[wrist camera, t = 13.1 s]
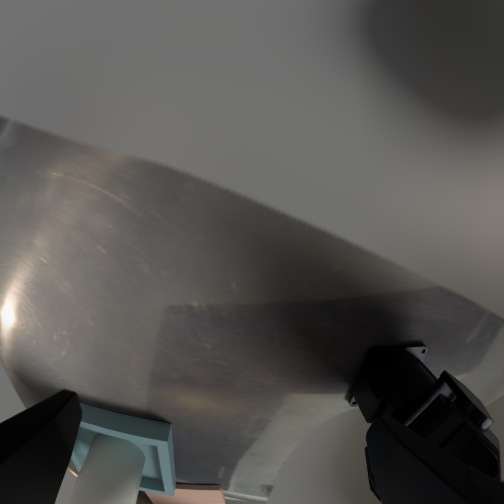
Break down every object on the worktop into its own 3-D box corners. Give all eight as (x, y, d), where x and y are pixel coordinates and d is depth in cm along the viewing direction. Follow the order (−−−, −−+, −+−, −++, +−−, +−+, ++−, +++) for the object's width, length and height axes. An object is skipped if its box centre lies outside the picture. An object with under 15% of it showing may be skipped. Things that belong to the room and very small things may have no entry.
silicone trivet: (220, 485, 26) (220, 490, 25) (226, 506, 28) (226, 510, 27) (141, 480, 26) (140, 484, 25) (156, 502, 27) (155, 506, 26)
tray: (171, 423, 23) (167, 441, 20) (176, 481, 26) (174, 496, 23) (59, 395, 22) (49, 410, 19) (84, 459, 24) (79, 472, 22)
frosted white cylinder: (141, 441, 22) (116, 551, 10) (148, 470, 24) (131, 564, 11) (87, 427, 22) (47, 525, 9) (99, 458, 23) (71, 545, 11)
